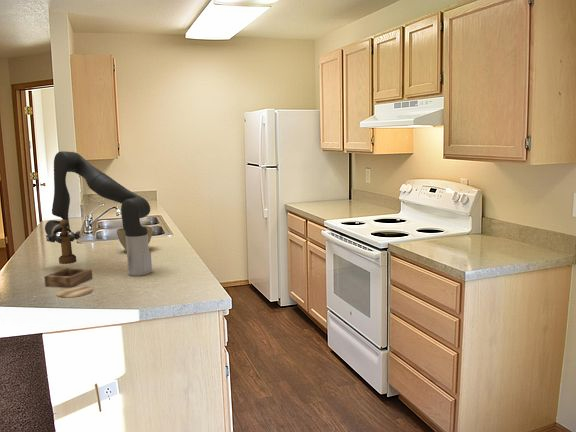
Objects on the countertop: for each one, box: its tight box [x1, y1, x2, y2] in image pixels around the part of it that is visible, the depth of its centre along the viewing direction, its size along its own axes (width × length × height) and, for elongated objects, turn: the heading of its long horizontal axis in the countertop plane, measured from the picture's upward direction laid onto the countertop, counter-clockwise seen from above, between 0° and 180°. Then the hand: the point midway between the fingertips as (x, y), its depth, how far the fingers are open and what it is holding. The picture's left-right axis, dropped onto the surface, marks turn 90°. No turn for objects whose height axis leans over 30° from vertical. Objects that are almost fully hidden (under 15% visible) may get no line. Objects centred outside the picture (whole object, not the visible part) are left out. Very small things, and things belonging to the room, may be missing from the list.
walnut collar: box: [44, 267, 93, 288], centre depth 215 cm, size 12×14×4 cm
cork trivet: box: [56, 285, 94, 299], centre depth 200 cm, size 13×13×1 cm
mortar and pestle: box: [58, 219, 77, 265], centre depth 212 cm, size 7×6×18 cm
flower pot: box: [116, 225, 153, 251], centre depth 272 cm, size 18×18×12 cm
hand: (66, 239), depth 210 cm, fingers closed on mortar and pestle, 4 cm apart
